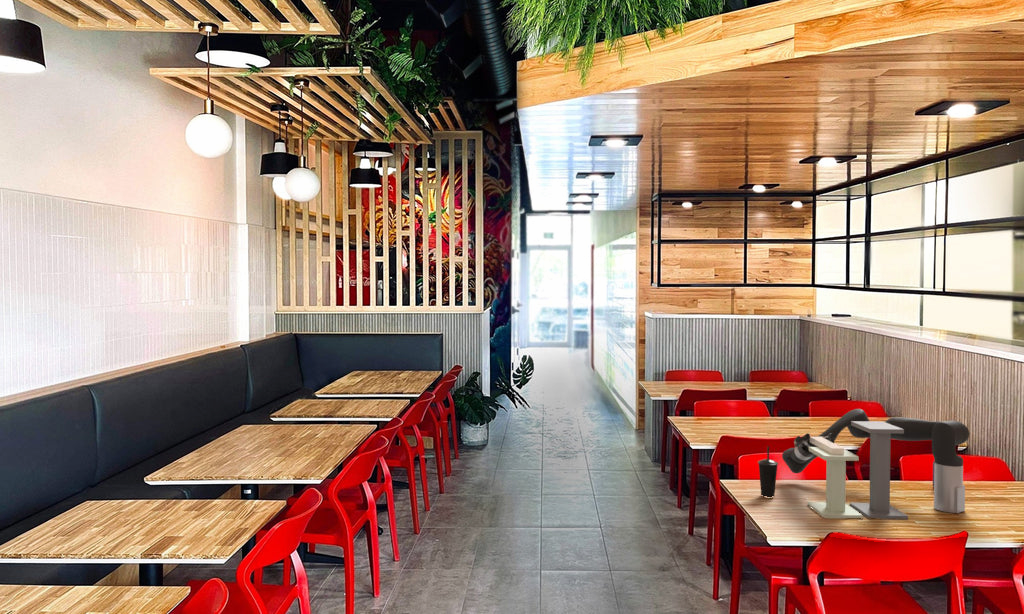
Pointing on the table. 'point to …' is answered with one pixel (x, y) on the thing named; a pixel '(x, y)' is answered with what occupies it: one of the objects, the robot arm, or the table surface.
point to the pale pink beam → (826, 445)
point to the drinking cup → (767, 475)
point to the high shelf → (879, 471)
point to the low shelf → (835, 485)
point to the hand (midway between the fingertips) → (820, 435)
